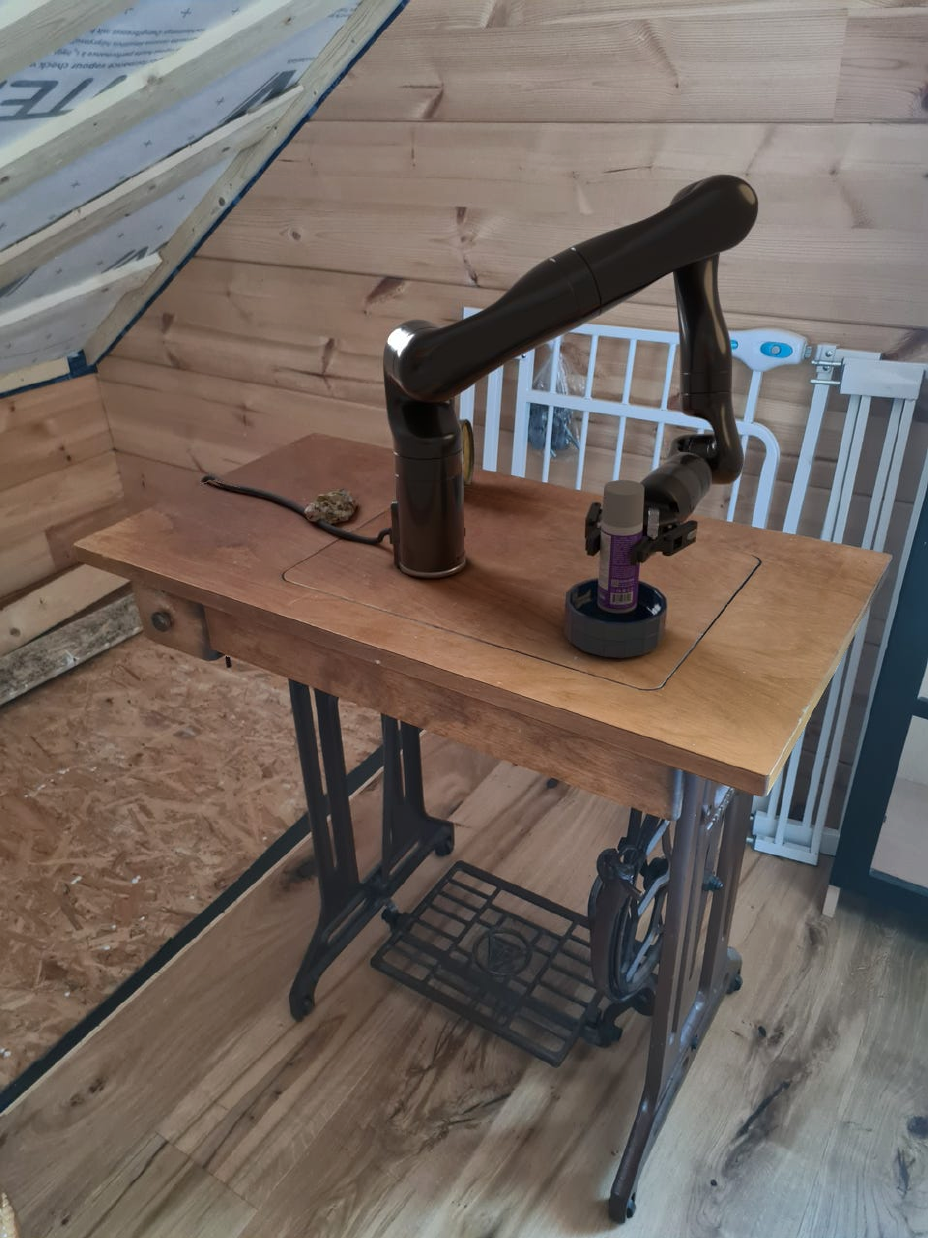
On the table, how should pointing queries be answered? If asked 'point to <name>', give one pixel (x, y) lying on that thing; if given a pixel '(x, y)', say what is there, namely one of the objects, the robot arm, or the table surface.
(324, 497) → the mineral rock
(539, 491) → the table surface
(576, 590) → the bowl
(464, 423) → the alarm clock
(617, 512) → the container
